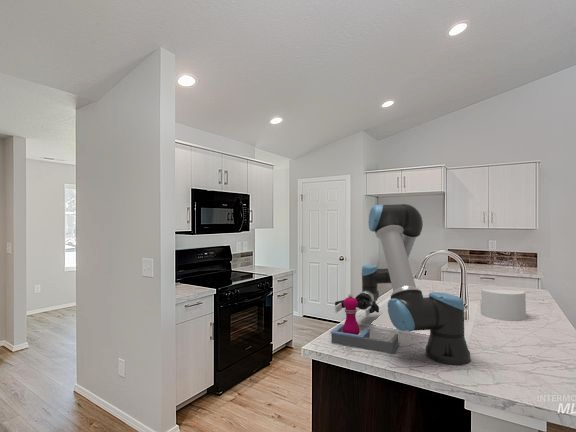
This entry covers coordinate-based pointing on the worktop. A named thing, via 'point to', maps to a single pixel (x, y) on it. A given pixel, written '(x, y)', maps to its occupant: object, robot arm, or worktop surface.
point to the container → (504, 304)
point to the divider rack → (363, 340)
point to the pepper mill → (351, 316)
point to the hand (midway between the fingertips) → (350, 311)
